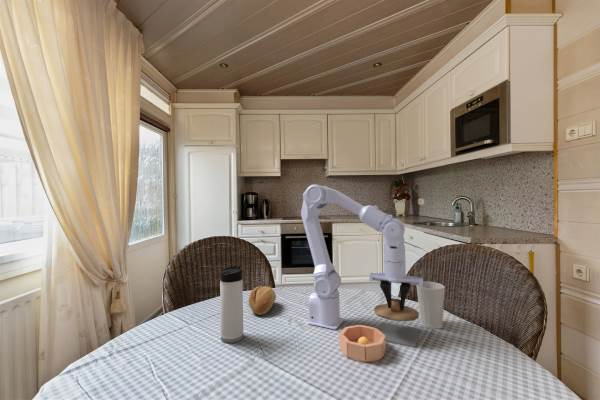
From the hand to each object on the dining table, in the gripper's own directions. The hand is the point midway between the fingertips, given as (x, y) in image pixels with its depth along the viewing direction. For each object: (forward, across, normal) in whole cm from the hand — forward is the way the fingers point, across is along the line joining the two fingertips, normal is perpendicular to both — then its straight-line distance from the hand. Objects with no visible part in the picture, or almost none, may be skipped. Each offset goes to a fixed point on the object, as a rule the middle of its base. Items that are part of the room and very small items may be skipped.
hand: (396, 308), depth 78 cm
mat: (+8, 0, 0) cm, 8 cm away
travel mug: (+8, -42, -22) cm, 48 cm away
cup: (+8, +8, +12) cm, 16 cm away
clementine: (+6, -6, -13) cm, 15 cm away
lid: (+1, 0, 0) cm, 1 cm away
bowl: (+8, -6, -12) cm, 16 cm away
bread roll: (+8, -46, -1) cm, 47 cm away
